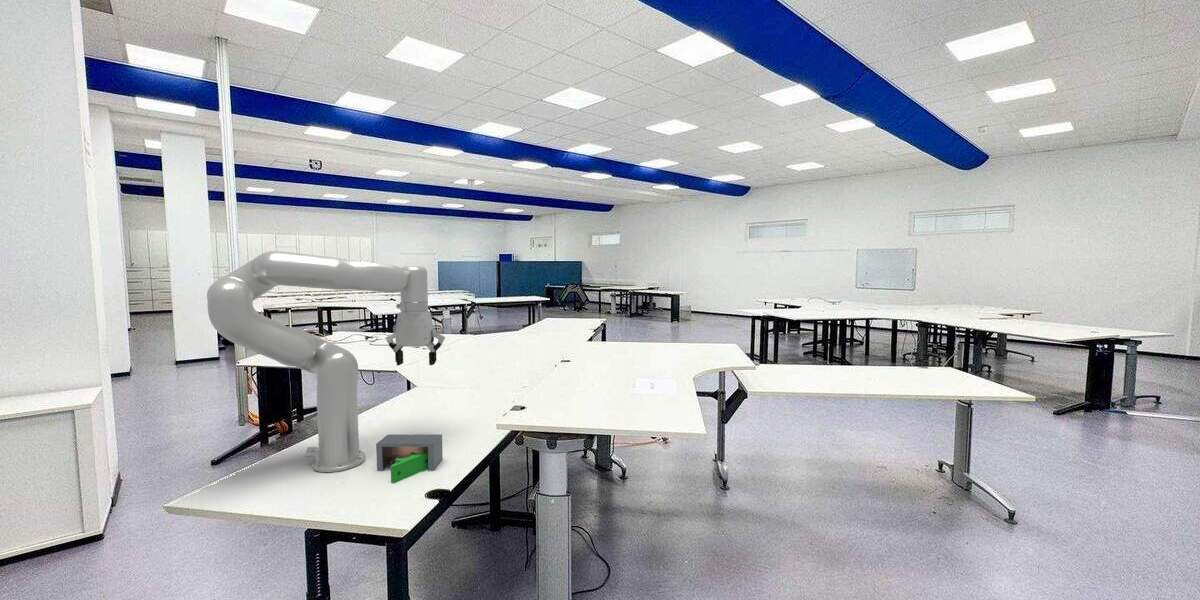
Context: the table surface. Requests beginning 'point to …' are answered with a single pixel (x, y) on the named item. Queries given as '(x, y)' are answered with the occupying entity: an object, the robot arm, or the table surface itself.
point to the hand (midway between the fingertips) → (416, 364)
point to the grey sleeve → (409, 449)
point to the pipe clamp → (408, 466)
